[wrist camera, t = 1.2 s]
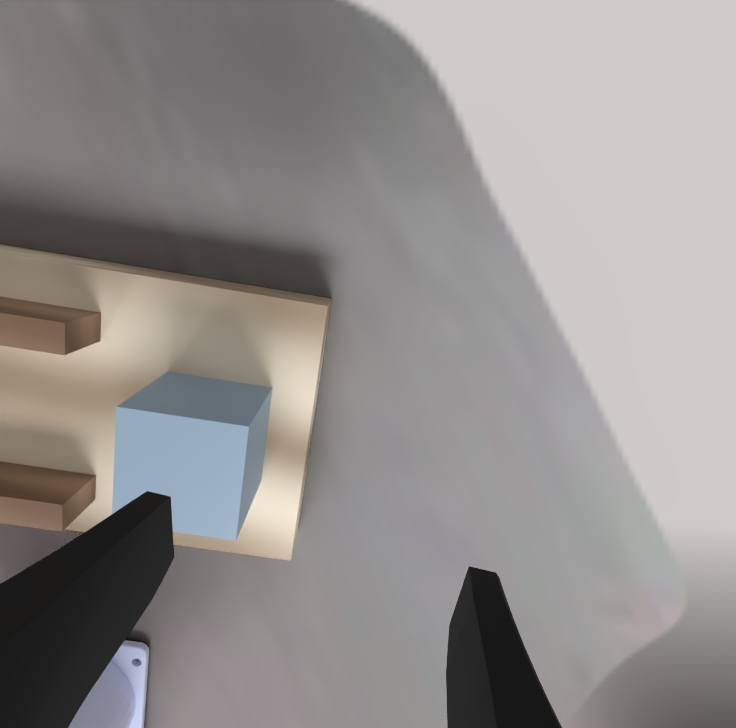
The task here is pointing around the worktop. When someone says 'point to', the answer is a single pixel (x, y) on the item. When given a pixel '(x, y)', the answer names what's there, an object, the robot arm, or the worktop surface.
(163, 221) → the worktop surface
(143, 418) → the block
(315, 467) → the worktop surface
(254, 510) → the board
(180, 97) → the worktop surface
